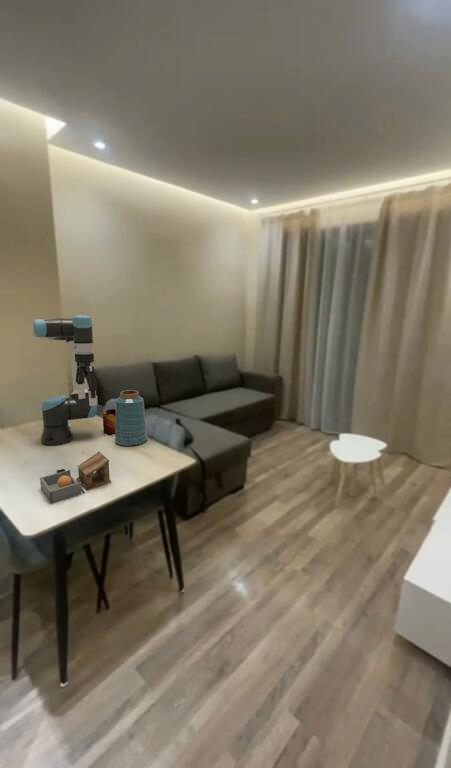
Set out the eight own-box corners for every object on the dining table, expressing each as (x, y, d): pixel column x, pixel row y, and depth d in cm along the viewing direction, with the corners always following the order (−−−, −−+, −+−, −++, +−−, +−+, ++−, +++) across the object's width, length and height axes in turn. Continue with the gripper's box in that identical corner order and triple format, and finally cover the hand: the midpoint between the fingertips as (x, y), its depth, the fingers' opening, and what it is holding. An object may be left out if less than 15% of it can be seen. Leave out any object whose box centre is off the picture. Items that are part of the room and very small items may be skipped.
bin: (41, 488, 133) (40, 477, 132) (70, 479, 140) (69, 469, 139) (50, 503, 123) (49, 492, 122) (81, 493, 130) (80, 482, 129)
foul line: (71, 479, 140) (71, 479, 140) (73, 478, 141) (73, 478, 141) (83, 493, 130) (83, 493, 130) (85, 492, 130) (85, 492, 130)
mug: (130, 432, 195) (130, 412, 192) (105, 436, 188) (104, 415, 185) (126, 427, 203) (125, 407, 200) (102, 430, 196) (101, 410, 194)
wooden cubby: (76, 479, 140) (75, 456, 138) (101, 472, 147) (99, 450, 144) (86, 490, 132) (84, 466, 130) (111, 482, 138) (110, 459, 136)
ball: (60, 487, 133) (52, 479, 131) (71, 479, 136) (64, 470, 133) (64, 493, 130) (56, 485, 127) (76, 484, 132) (68, 476, 129)
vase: (121, 435, 190) (118, 388, 185) (150, 436, 190) (149, 388, 184) (110, 446, 174) (107, 395, 169) (142, 447, 174) (140, 396, 168)
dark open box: (56, 476, 143) (56, 470, 142) (64, 474, 144) (63, 468, 144) (58, 479, 140) (58, 473, 140) (66, 476, 142) (66, 471, 142)
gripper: (65, 350, 151) (69, 397, 156) (85, 357, 133) (88, 409, 137) (83, 349, 156) (86, 394, 161) (104, 355, 138) (107, 406, 142)
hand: (87, 401), depth 149 cm, fingers open, 13 cm apart
